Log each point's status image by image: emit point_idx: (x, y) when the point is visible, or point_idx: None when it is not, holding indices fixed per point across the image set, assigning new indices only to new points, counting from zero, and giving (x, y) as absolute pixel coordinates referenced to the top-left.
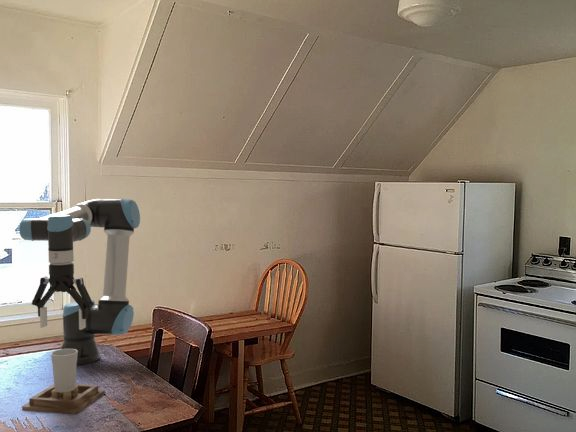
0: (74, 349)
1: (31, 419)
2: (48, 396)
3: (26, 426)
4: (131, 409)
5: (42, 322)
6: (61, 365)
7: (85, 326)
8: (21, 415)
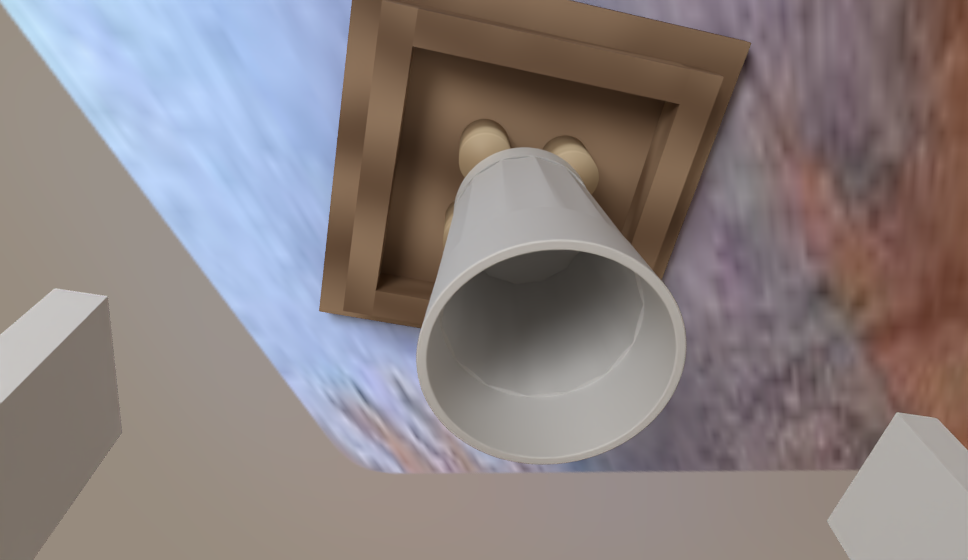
0: (633, 269)
1: None
2: (398, 163)
3: (445, 465)
4: (909, 297)
5: (64, 512)
6: (545, 396)
7: (947, 437)
8: (360, 366)
